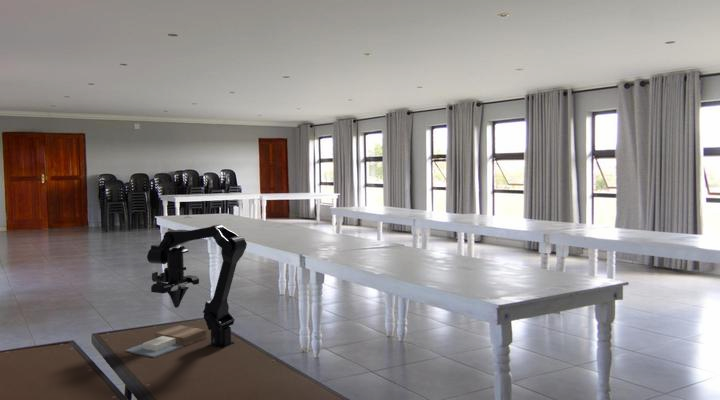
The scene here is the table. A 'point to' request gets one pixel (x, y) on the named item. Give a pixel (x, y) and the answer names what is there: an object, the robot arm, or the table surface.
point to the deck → (183, 334)
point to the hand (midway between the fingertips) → (176, 307)
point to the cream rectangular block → (159, 343)
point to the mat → (152, 353)
